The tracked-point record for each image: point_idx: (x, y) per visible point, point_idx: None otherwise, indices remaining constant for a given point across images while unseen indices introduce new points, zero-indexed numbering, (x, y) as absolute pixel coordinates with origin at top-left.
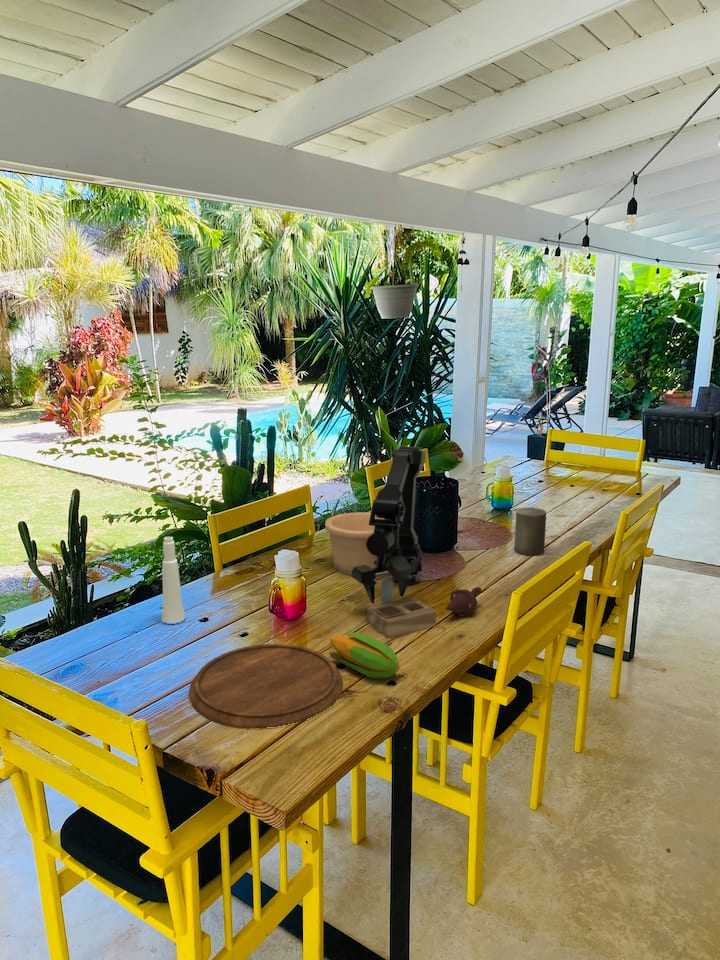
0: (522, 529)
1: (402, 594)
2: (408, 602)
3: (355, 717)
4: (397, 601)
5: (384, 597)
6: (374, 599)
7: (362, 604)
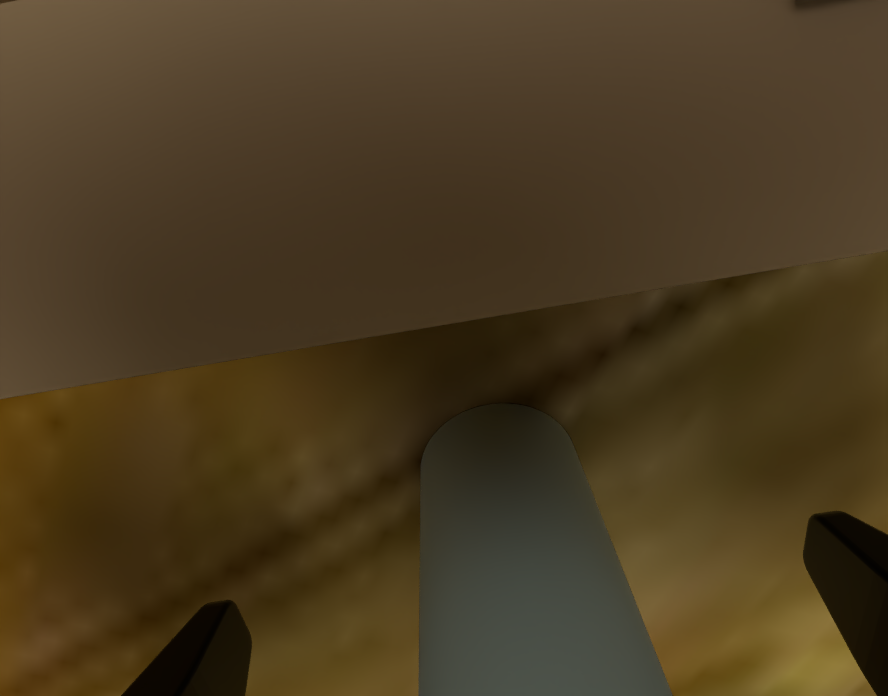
0: None
1: (203, 636)
2: (176, 101)
3: None
4: (493, 295)
5: (629, 596)
6: (882, 566)
7: (705, 630)
